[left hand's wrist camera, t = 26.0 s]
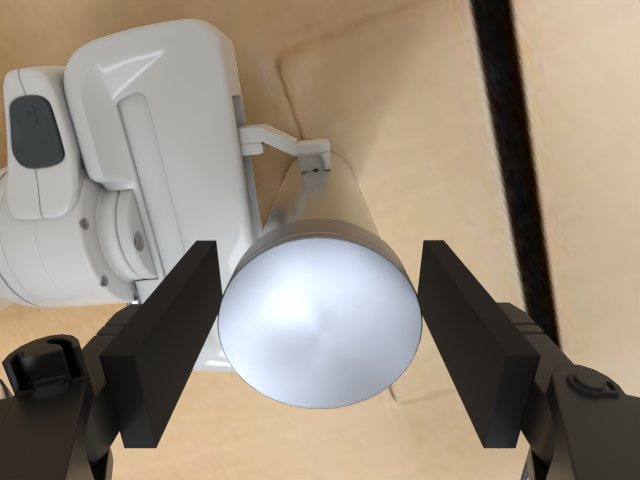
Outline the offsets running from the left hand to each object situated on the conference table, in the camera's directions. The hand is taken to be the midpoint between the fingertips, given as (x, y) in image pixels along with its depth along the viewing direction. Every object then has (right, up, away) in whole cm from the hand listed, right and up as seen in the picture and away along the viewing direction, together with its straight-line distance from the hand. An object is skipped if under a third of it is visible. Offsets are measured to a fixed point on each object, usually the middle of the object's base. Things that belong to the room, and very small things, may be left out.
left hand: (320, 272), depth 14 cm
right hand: (+1, +3, +7) cm, 8 cm away
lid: (0, -1, -3) cm, 3 cm away
